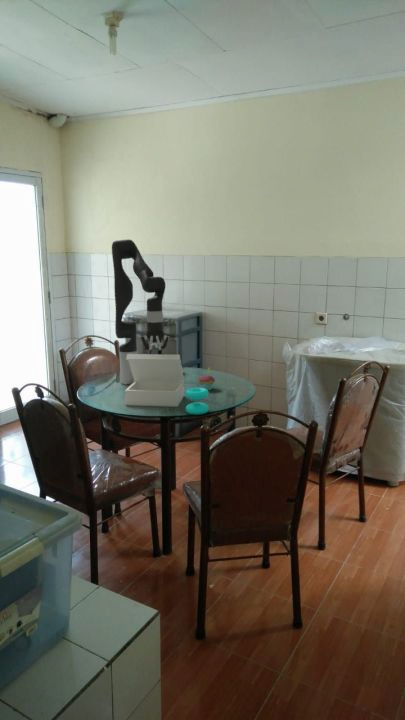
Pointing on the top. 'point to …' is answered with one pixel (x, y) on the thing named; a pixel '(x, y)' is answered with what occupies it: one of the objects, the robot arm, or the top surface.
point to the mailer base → (154, 394)
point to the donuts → (197, 407)
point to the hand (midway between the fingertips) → (156, 357)
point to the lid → (156, 367)
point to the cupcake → (206, 381)
